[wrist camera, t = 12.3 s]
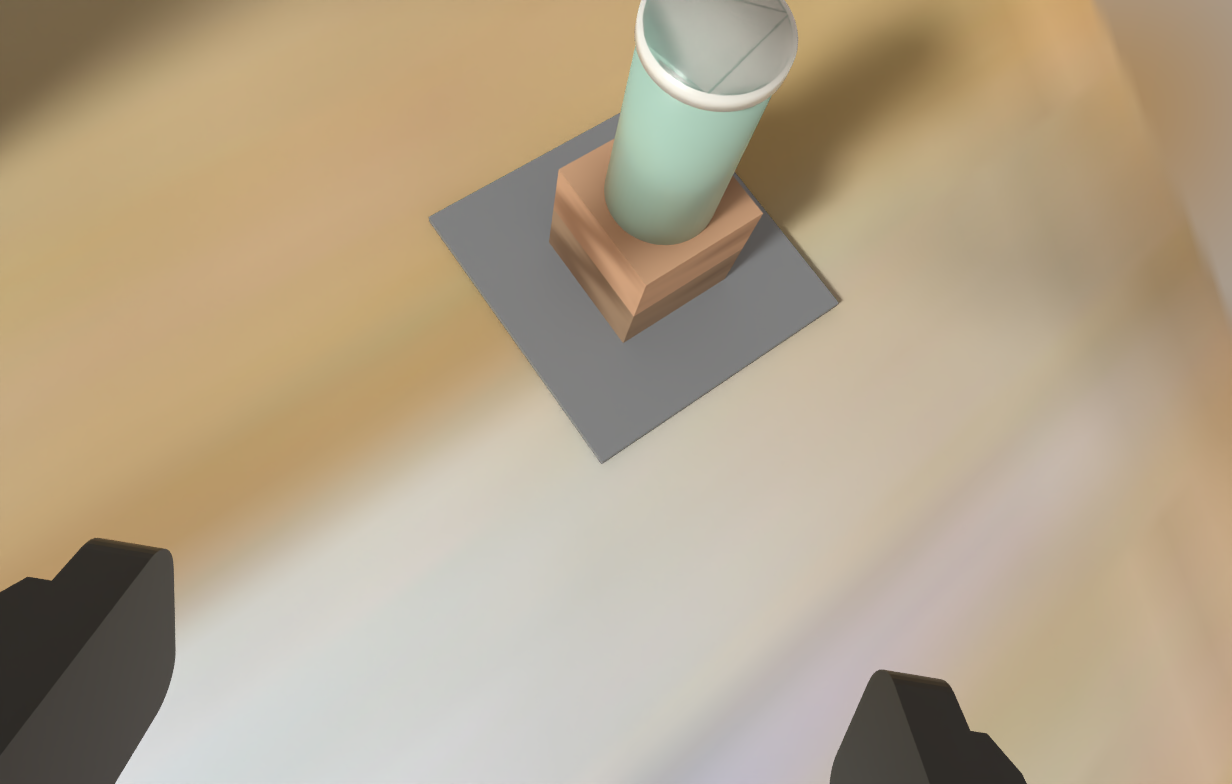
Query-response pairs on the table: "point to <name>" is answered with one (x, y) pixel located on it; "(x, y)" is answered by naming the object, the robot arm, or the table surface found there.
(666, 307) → the walnut block
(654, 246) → the cherry block
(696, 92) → the sage canister
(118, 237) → the table surface
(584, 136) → the slate mat
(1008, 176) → the table surface
